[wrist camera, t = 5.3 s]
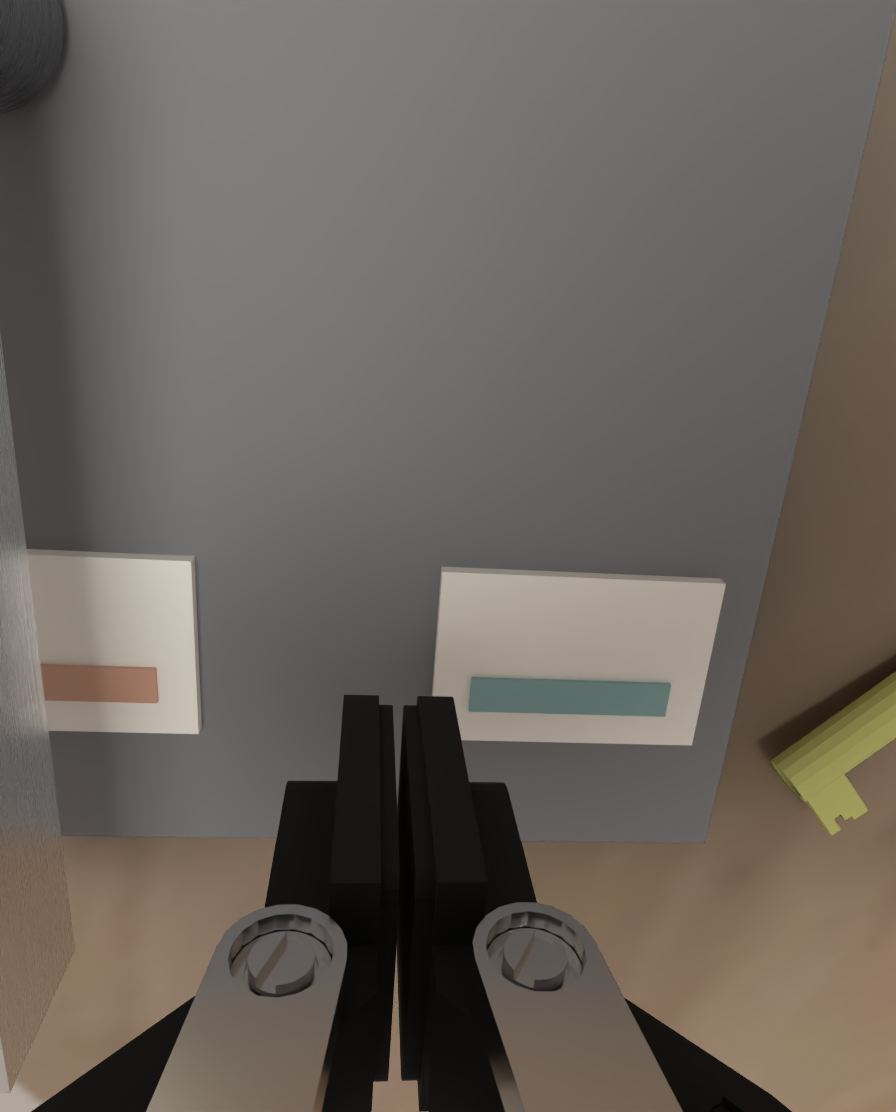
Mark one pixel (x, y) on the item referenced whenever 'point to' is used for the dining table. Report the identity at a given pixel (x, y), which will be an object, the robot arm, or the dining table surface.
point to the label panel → (416, 385)
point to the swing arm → (25, 671)
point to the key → (840, 754)
